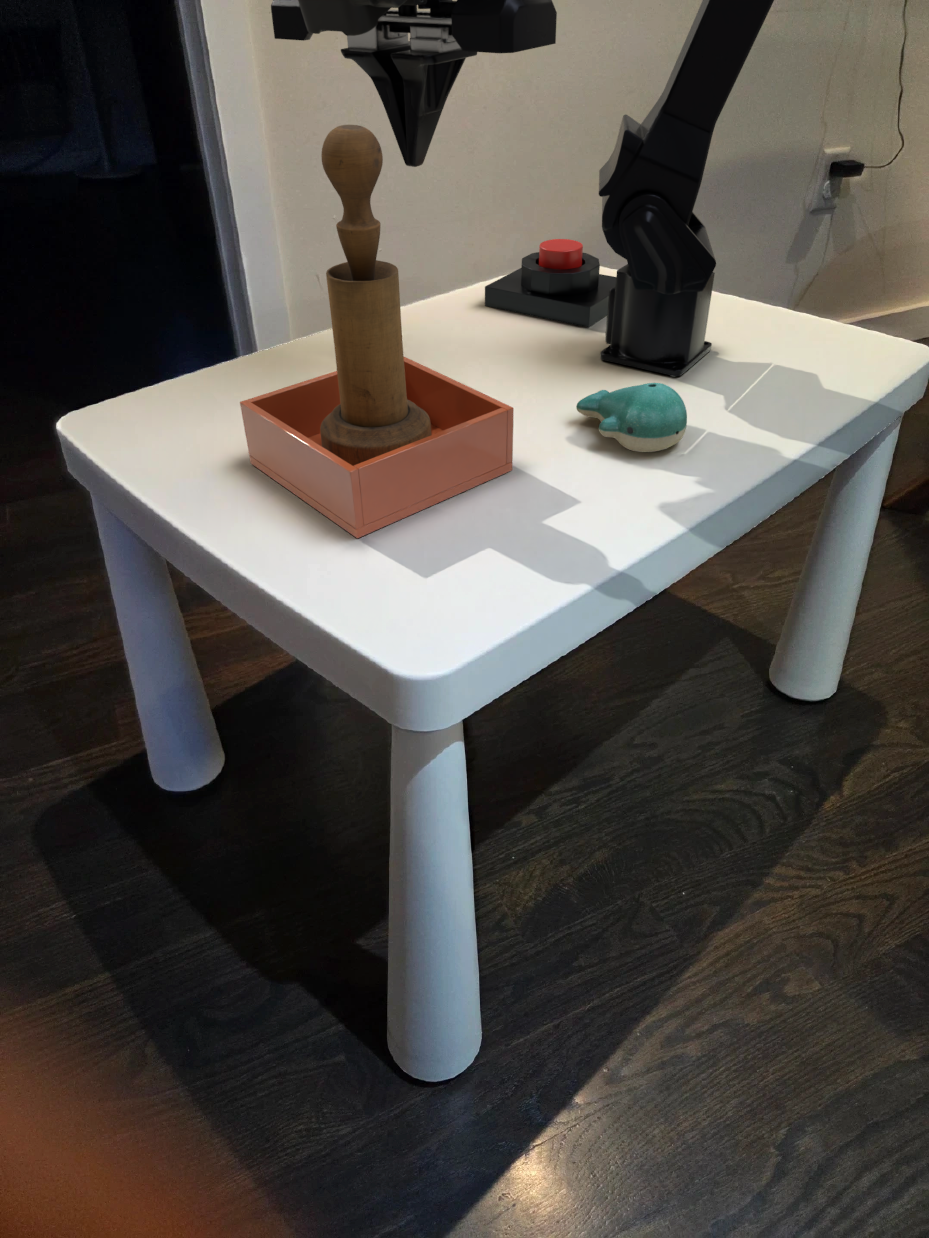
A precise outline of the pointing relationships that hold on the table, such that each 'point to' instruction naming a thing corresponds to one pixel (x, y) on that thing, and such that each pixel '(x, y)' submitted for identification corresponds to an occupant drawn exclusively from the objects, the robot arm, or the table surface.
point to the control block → (554, 291)
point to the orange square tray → (392, 482)
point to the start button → (560, 254)
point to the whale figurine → (639, 416)
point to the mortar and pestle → (365, 315)
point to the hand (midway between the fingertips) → (414, 165)
